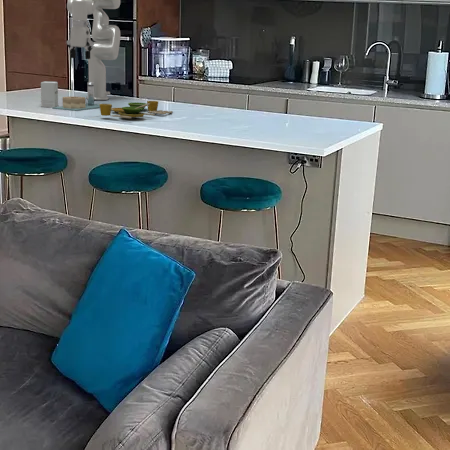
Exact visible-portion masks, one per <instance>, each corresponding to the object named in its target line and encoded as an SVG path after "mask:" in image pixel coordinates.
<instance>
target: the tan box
mask: <svg viewBox="0 0 450 450" xmlns="http://www.w3.org/2000/svg"><path fill="white" fill-rule="evenodd" d="M86 104H87V103H86V97H84V96H62V106H63V108H70V109H81V108H86Z"/></svg>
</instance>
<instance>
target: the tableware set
mask: <svg viewBox="0 0 450 450" xmlns="http://www.w3.org/2000/svg"><path fill="white" fill-rule="evenodd" d="M98 104H99V105H100V108H99V111H100V112H99V113H100V115H101V116H104V117H107V116H108V117H112V118H113V117H114V118H124V119H132V118H142V117H143V116H155V114H158V115H167V114H172V112H173V113H174V111H173V110H170V111H168V110H163V109H160V110H158V107H159V101H158V100H147V101H146V102H128V103H127V105H128V106H123V107H113V105H112V104H111V103H98ZM146 107H147V112H141V111H144V109H145V108H146ZM112 112H114V113H118V114H112ZM166 113H167V114H166Z"/></svg>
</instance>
